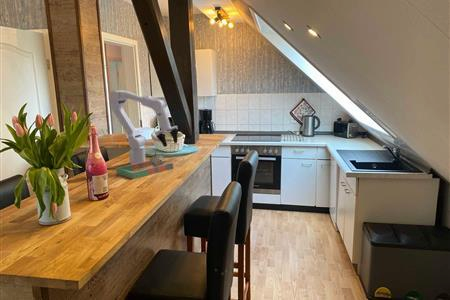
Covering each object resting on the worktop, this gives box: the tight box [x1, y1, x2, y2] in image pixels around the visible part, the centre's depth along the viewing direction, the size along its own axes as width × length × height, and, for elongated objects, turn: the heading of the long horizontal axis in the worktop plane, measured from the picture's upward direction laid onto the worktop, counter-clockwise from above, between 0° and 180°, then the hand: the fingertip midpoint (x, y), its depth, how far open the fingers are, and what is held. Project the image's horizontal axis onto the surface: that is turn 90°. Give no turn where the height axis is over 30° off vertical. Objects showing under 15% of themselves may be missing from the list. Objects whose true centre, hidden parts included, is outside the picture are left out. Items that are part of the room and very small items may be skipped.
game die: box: [148, 152, 167, 167], centre depth 182 cm, size 9×8×10 cm
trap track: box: [115, 159, 174, 180], centre depth 176 cm, size 16×25×3 cm, turn 138°
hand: (170, 144), depth 186 cm, fingers open, 7 cm apart
